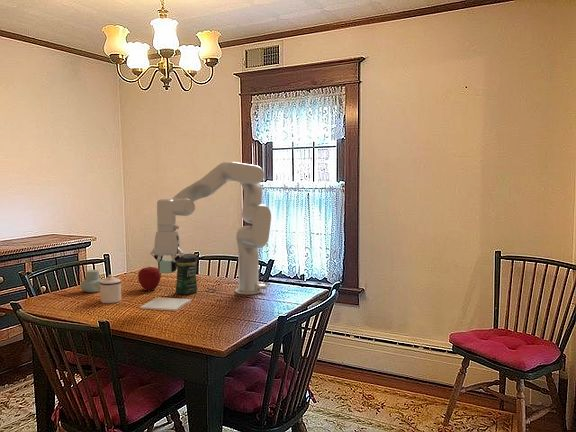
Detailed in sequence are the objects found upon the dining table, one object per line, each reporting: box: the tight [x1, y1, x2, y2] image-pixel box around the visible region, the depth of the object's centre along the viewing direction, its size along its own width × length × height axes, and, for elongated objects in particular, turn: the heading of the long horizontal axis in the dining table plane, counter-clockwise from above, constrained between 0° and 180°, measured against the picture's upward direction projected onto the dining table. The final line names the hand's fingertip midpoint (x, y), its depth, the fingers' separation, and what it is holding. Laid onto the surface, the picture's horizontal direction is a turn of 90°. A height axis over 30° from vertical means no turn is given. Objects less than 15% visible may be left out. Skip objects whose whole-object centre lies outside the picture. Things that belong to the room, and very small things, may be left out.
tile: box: [139, 297, 192, 312], centre depth 216 cm, size 16×16×1 cm
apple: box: [137, 265, 162, 292], centre depth 243 cm, size 11×11×12 cm
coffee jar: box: [175, 253, 198, 295], centre depth 236 cm, size 10×8×19 cm
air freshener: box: [79, 269, 102, 294], centre depth 239 cm, size 11×8×10 cm
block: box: [159, 258, 176, 275], centre depth 213 cm, size 5×5×5 cm
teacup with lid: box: [99, 274, 122, 304], centre depth 222 cm, size 12×9×12 cm
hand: (167, 270), depth 213 cm, fingers closed on block, 5 cm apart
